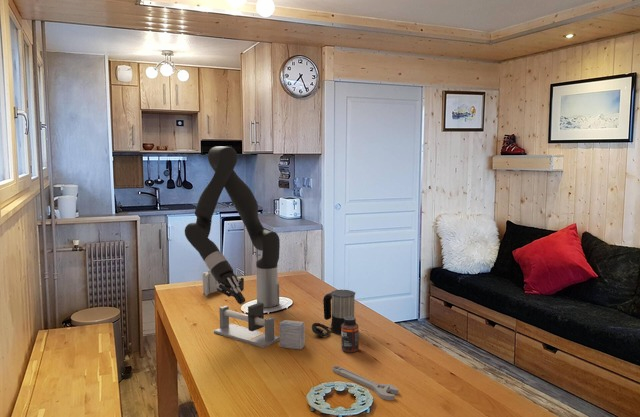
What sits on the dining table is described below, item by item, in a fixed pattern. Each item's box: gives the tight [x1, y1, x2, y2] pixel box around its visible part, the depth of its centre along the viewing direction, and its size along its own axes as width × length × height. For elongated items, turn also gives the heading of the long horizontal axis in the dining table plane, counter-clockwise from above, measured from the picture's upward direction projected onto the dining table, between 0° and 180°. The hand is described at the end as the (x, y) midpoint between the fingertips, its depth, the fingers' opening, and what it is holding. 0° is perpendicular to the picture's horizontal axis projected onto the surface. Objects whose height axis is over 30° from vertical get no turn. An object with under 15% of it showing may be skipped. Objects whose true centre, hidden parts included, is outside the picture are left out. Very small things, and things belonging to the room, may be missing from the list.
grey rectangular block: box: [201, 270, 219, 297], centre depth 246 cm, size 14×5×10 cm, turn 154°
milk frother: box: [311, 289, 356, 337], centre depth 192 cm, size 14×16×15 cm
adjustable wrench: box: [332, 365, 400, 401], centre depth 152 cm, size 25×6×2 cm, turn 38°
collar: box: [247, 302, 265, 332], centre depth 185 cm, size 2×6×9 cm, turn 144°
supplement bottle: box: [340, 316, 360, 353], centre depth 175 cm, size 6×6×11 cm
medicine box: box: [279, 319, 306, 351], centre depth 178 cm, size 8×4×9 cm, turn 71°
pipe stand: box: [213, 305, 280, 349], centre depth 188 cm, size 25×9×9 cm, turn 54°
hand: (242, 302), depth 188 cm, fingers closed
